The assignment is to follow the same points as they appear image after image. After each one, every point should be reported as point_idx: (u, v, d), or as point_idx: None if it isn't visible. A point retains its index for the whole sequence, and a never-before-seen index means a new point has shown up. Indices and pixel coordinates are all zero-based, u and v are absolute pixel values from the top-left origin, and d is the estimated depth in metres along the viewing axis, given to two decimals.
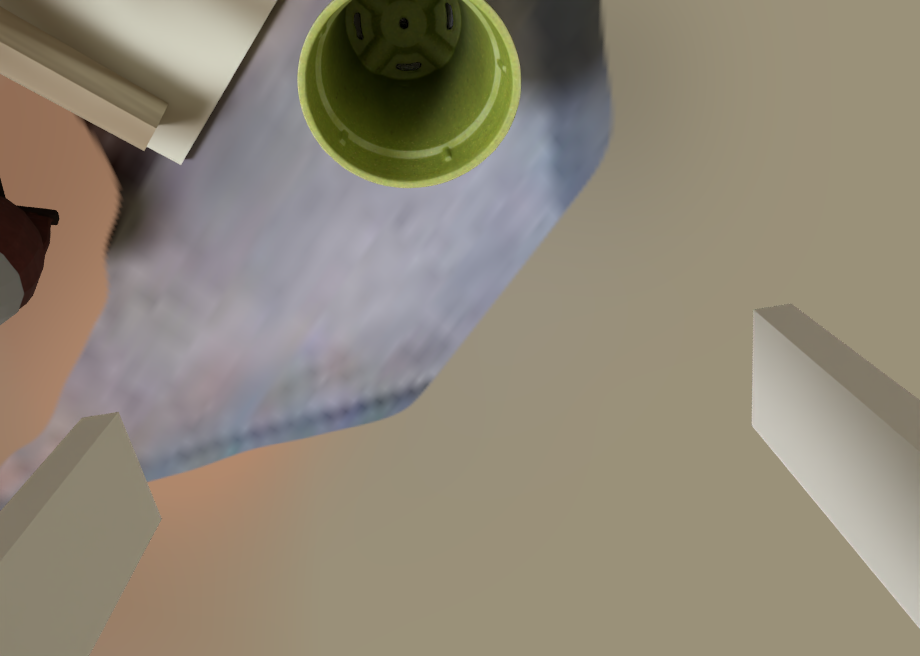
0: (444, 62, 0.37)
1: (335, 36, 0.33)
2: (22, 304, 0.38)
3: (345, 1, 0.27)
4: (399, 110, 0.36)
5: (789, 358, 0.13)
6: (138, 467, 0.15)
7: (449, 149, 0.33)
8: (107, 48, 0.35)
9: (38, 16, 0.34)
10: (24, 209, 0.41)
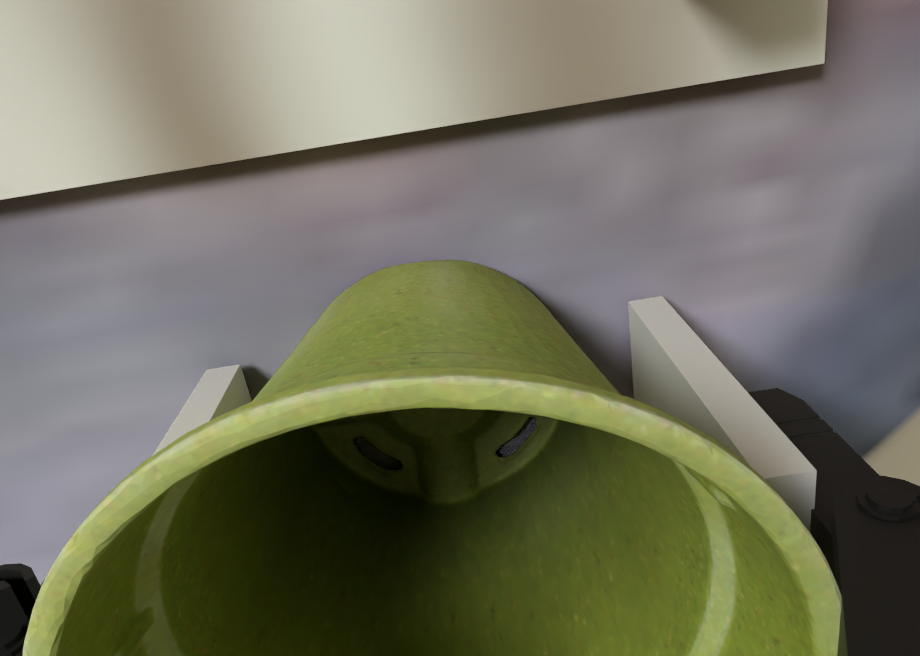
0: (444, 499, 0.17)
1: None
2: None
3: (522, 410, 0.06)
4: (308, 557, 0.14)
5: (649, 346, 0.14)
6: None
7: None
8: None
9: None
10: None
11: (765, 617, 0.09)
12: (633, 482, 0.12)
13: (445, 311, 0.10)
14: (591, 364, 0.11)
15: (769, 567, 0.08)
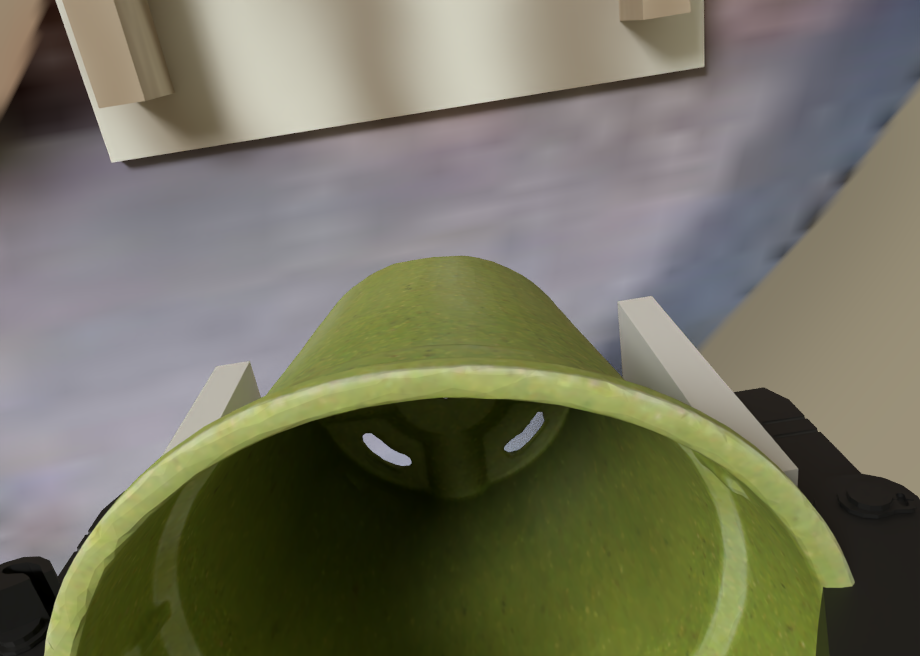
0: (453, 494, 0.17)
1: None
2: None
3: (538, 399, 0.07)
4: (319, 552, 0.14)
5: (637, 345, 0.14)
6: None
7: None
8: None
9: None
10: None
11: (778, 605, 0.09)
12: (643, 475, 0.12)
13: (456, 306, 0.11)
14: (601, 357, 0.11)
15: (782, 554, 0.08)
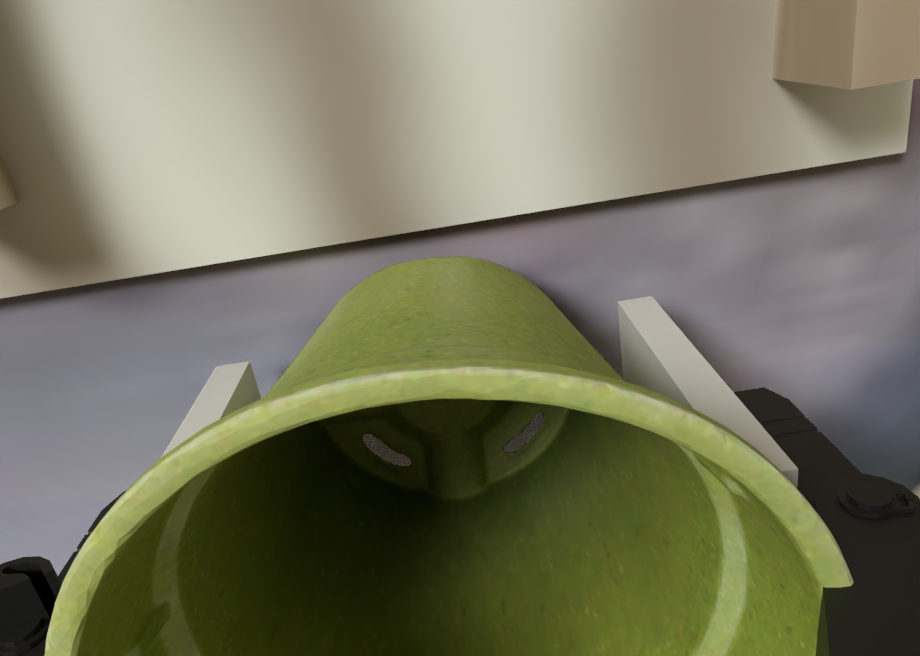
0: (452, 494, 0.17)
1: None
2: None
3: (538, 400, 0.07)
4: (319, 552, 0.14)
5: (637, 345, 0.14)
6: None
7: None
8: None
9: None
10: None
11: (777, 605, 0.09)
12: (642, 475, 0.13)
13: (455, 307, 0.11)
14: (601, 357, 0.11)
15: (781, 555, 0.08)
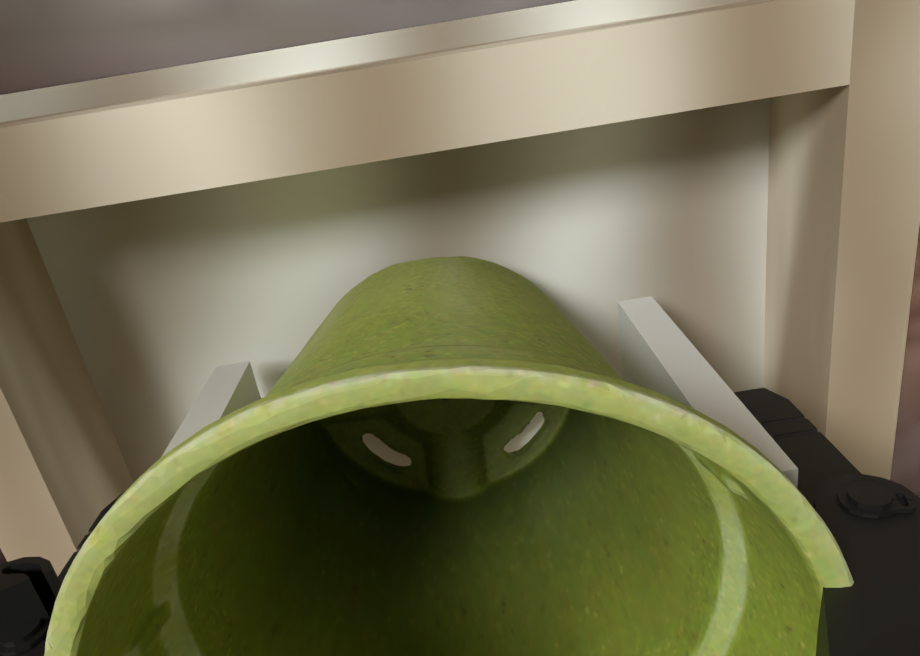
0: (452, 494, 0.17)
1: None
2: None
3: (538, 400, 0.07)
4: (319, 552, 0.14)
5: (637, 345, 0.14)
6: None
7: None
8: None
9: (114, 374, 0.16)
10: None
11: (777, 605, 0.09)
12: (643, 475, 0.12)
13: (456, 306, 0.11)
14: (601, 357, 0.11)
15: (781, 555, 0.08)
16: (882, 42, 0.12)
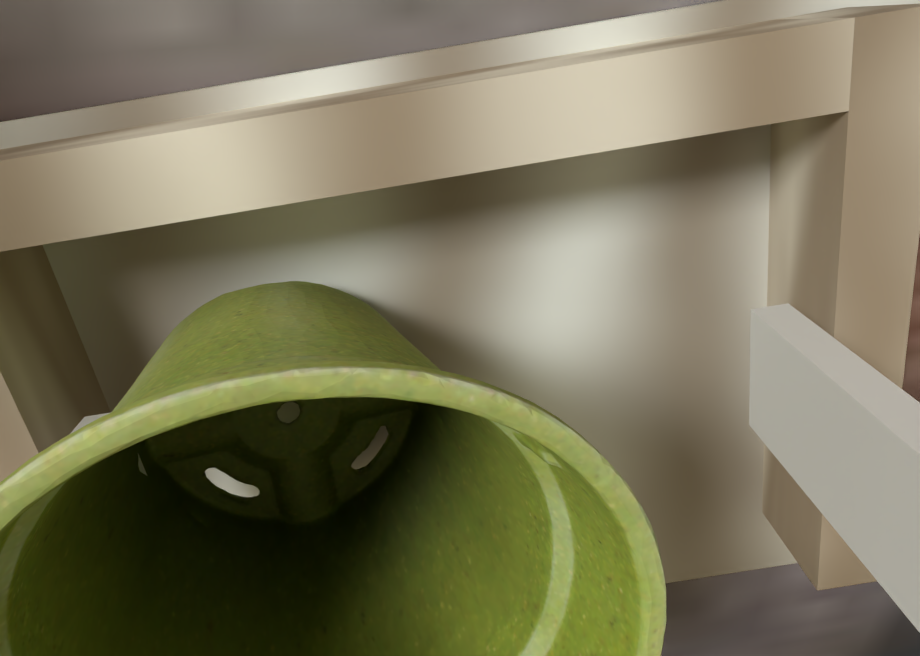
0: (305, 518, 0.17)
1: None
2: None
3: (364, 394, 0.07)
4: (168, 594, 0.14)
5: (785, 358, 0.13)
6: (140, 465, 0.15)
7: None
8: None
9: (126, 391, 0.17)
10: None
11: (598, 561, 0.10)
12: (480, 469, 0.14)
13: (287, 326, 0.11)
14: (429, 361, 0.12)
15: (595, 513, 0.10)
16: (881, 70, 0.12)
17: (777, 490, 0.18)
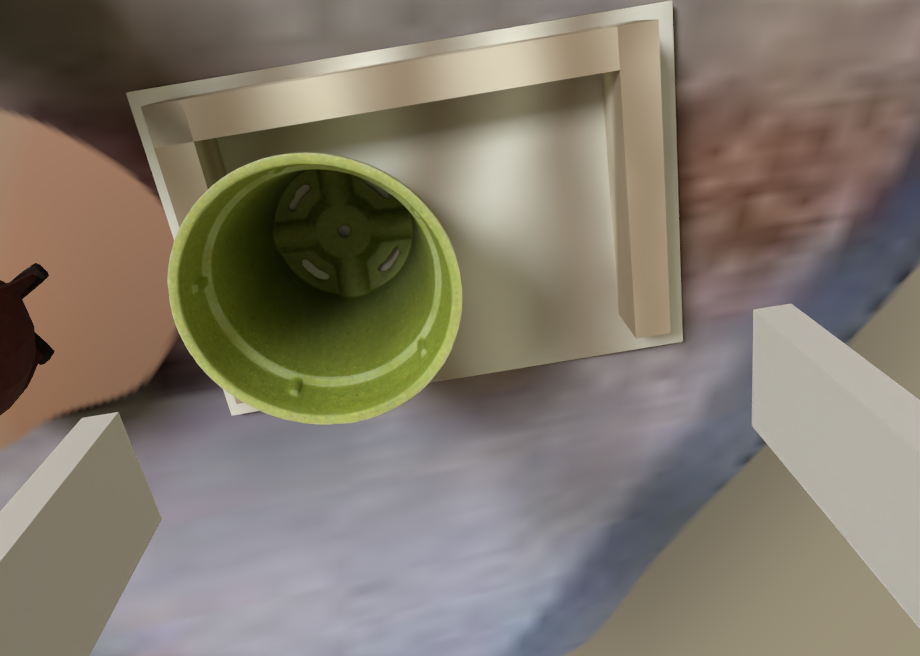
0: (351, 294, 0.31)
1: (274, 186, 0.26)
2: None
3: (329, 164, 0.21)
4: (276, 303, 0.28)
5: (789, 359, 0.13)
6: (138, 466, 0.15)
7: (301, 383, 0.26)
8: None
9: None
10: None
11: (443, 268, 0.23)
12: (423, 252, 0.27)
13: None
14: None
15: (435, 240, 0.23)
16: (632, 50, 0.26)
17: (621, 292, 0.32)
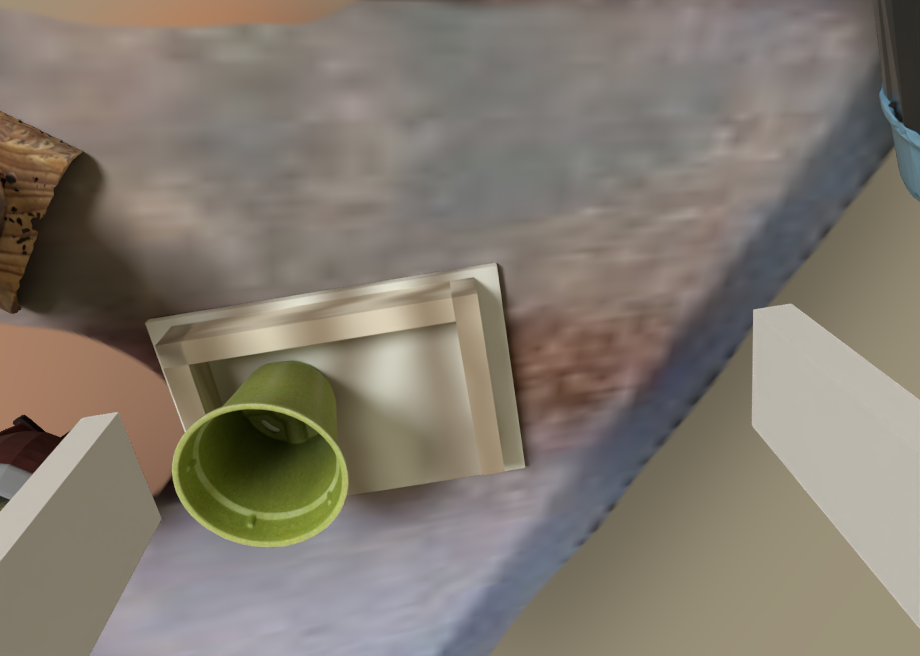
0: (294, 442, 0.46)
1: (239, 390, 0.42)
2: None
3: (265, 409, 0.36)
4: (242, 457, 0.44)
5: (789, 358, 0.13)
6: (138, 466, 0.15)
7: (255, 518, 0.41)
8: None
9: None
10: None
11: None
12: (335, 430, 0.42)
13: (270, 384, 0.40)
14: (311, 397, 0.41)
15: None
16: (462, 310, 0.41)
17: None
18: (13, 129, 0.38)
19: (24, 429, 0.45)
